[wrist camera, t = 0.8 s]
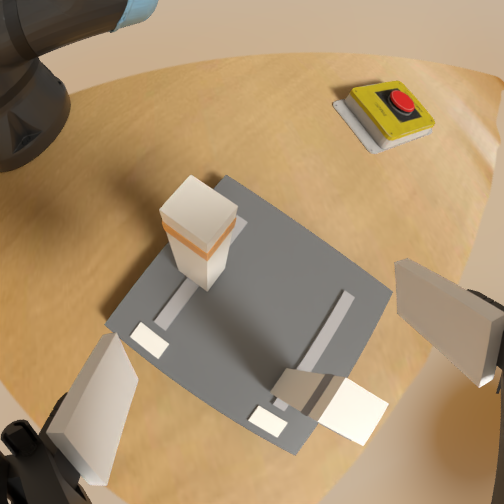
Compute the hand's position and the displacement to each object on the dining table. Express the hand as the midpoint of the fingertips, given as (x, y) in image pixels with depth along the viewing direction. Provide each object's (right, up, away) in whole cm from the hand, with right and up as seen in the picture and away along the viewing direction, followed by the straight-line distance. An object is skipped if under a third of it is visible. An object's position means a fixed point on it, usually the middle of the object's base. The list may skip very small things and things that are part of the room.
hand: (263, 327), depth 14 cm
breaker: (+3, -8, +11) cm, 14 cm away
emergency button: (+19, +22, +27) cm, 39 cm away
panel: (0, -2, +15) cm, 15 cm away
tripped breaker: (-5, +2, +13) cm, 14 cm away
